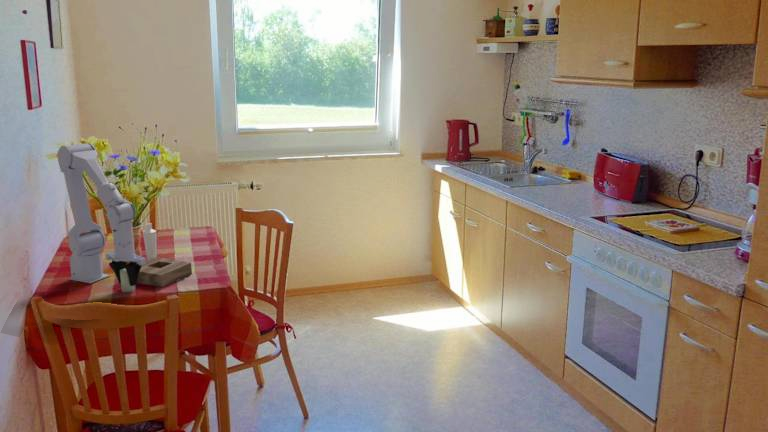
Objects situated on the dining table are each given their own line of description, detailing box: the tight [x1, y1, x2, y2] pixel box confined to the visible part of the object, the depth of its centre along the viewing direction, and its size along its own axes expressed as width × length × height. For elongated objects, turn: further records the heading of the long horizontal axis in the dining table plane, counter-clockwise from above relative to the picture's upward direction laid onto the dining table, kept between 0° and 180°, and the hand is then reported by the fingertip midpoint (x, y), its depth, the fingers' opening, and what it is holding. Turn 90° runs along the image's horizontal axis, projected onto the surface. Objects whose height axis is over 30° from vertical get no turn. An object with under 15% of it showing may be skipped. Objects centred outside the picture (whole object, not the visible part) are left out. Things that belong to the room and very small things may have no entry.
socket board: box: [137, 256, 193, 288], centre depth 210 cm, size 16×14×4 cm
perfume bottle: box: [142, 222, 158, 260], centre depth 221 cm, size 5×4×15 cm
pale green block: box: [120, 268, 136, 293], centre depth 198 cm, size 4×4×6 cm
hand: (128, 283), depth 199 cm, fingers closed on pale green block, 4 cm apart
